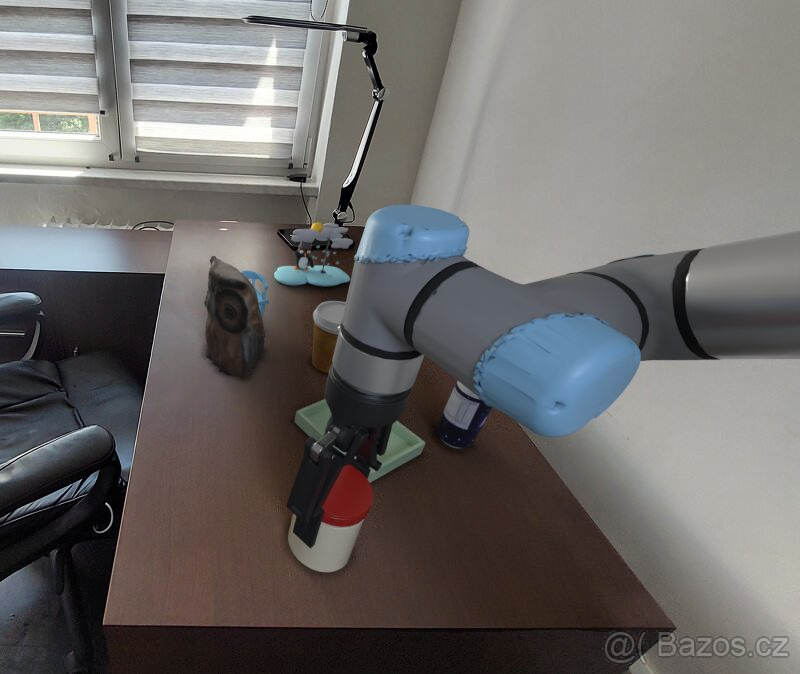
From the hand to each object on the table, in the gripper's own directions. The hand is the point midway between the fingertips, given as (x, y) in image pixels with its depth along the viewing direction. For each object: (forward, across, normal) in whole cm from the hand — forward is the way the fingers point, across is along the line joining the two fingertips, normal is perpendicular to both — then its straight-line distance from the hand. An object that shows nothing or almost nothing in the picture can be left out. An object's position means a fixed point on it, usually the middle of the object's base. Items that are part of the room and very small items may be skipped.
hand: (326, 517), depth 56 cm
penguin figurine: (+5, -59, -49) cm, 77 cm away
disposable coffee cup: (+5, -32, -23) cm, 40 cm away
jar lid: (-6, 0, 0) cm, 6 cm away
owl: (+5, -19, -35) cm, 40 cm away
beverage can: (+5, -32, +2) cm, 33 cm away
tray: (+5, -20, -8) cm, 22 cm away
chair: (+5, -30, -44) cm, 53 cm away
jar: (+5, 0, 0) cm, 5 cm away
